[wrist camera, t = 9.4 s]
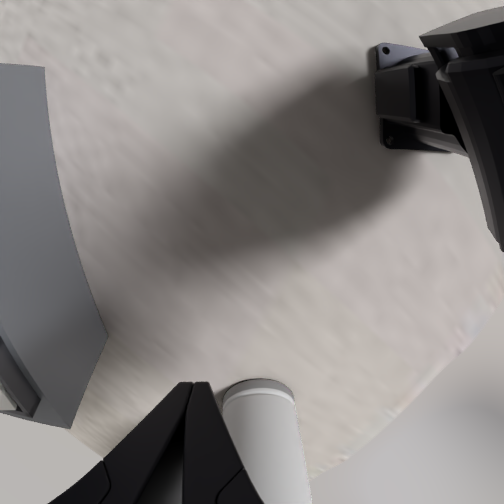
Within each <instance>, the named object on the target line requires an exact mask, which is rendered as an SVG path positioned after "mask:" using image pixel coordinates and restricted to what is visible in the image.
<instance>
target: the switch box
mask: <svg viewBox="0 0 504 504" xmlns="http://www.w3.org/2000/svg"><path fill="white" fill-rule="evenodd" d="M107 338H108V335H107V333H106V330H105V328H104V325H103V323H102V320H101V318H100V315H99V313H98V310H97V308H96V305H95V302H94V300H93V297H92V294H91V292H90V289H89V286H88V283H87V280H86V277H85V274H84V271H83V268H82V265H81V262H80V259H79V256H78V252H77V249H76V246H75V242H74V239H73V235H72V232H71V228H70V224H69V221H68V217H67V213H66V209H65V205H64V201H63V196H62V192H61V187H60V183H59V178H58V173H57V168H56V162H55V157H54V151H53V145H52V139H51V132H50V124H49V116H48V108H47V98H46V86H45V70H44V67H40V66H30V65H18V64H3V63H0V381H1V383H2V384H3V386H4V387H5V389H6V390H7V391H8V393H9V394H10V395H11V397H12V398H13V399H14V401H15V402H16V403H17V408H16V410H0V413H3V414H7V415H11V416H14V417H18V418H22V419H25V420H29V421H34V422H38V423H42V424H47V425H51V426H57V427H61V428H67V429H71V426H72V423H73V420H74V418H75V415H76V412H77V410H78V407H79V405H80V402H81V400H82V397H83V395H84V392H85V390H86V387H87V385H88V382H89V380H90V377H91V375H92V373H93V370H94V368H95V366H96V363H97V361H98V359H99V356H100V354H101V352H102V350H103V347H104V345H105V343H106V341H107Z"/></svg>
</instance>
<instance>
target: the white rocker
mask: <svg viewBox="0 0 504 504" xmlns="http://www.w3.org/2000/svg"><path fill="white" fill-rule="evenodd" d="M16 408H17V403H16V402H15V401H14V399H13V398H12V397H11V395H10V394H9V393H8V391H7V390H6V389H5V387H4V386H3V384H2V383H1V381H0V410H16Z"/></svg>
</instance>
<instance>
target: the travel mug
mask: <svg viewBox="0 0 504 504" xmlns="http://www.w3.org/2000/svg"><path fill="white" fill-rule="evenodd" d="M223 418H224V421H225V423H226V426H227V428H228V430H229V433H230V435H231V437H232V440H233V442H234V444H235V446H236V449H237V451H238V453H239V455H240V458H241V460H242V462H243V464H244V466H245V469H246V470H247V472H248V474H249V477H250V479H251V481H252V483H253V485H254V486H255V488H256V490H257V492H258V494H259V496H260V497H261V499H262V500H263V502H264V503H265V504H313V503H312V497H311V492H310V486H309V480H308V474H307V468H306V463H305V457H304V451H303V446H302V440H301V434H300V429H299V423H298V418H297V412H296V409H295V402H294V396H293V393H292V391H291V390H290V389H289V388H288V387H287V386H286V385H284V384H282V383H280V382H277V381H274V380H268V379H255V380H248V381H244V382H241V383H239V384H237V385H235V386H233V387H232V388H230V389H229V390H228V391H227V392H226V394H225V395H224V398H223Z"/></svg>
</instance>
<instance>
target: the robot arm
mask: <svg viewBox="0 0 504 504" xmlns="http://www.w3.org/2000/svg"><path fill="white" fill-rule="evenodd" d="M419 38H420V40H421V41H422V43H423V45H424V47H427V48H428V50H429V51H428V50H424V49H419V48H414V47H408V46H403V45H397V44H390V43H381V44H379V45H377V47H376V61H377V72H376V73H375V88H376V110H377V115H378V116H379V117H380V142H381V144H382V146H384V147H385V148H388V149H410V150H432V151H448V152H454V153H457V154H460V155H463V156H466V157H469V159H470V162H471V165H472V168H473V171H474V175H475V178H476V182H477V185H478V189H479V192H480V196H481V200H482V204H483V208H484V212H485V217H486V221H487V226H488V229H489V230H490V232H491V233H492V235H493V236H494V238H495V239H496V241H497V242H498V243H499V245H500V249H501V251H502V252H504V6H503V7H498V8H493V9H489V10H485V11H481V12H477V13H474V14H472V15H469V16H466V17H464V18H461V19H458V20H456V21H453V22H451V23H448V24H446V25H444V26H441V27H439V28H436V29H434V30H432V31H429V32H427V33H425V34H423V35H420V36H419ZM382 48H385V49H386V50H387V54H384V53H383V51H382ZM388 137H390V138H391V142H390V143H389V144H388V143H387V141H386V140H387V138H388ZM48 504H265V503H264V502H263V500H262V499H261V497H260V496H259V494H258V492H257V490H256V488H255V486H254V485H253V483H252V481H251V479H250V477H249V474H248V472H247V470H246V469H245V466H244V464H243V462H242V460H241V458H240V455H239V453H238V451H237V449H236V446H235V444H234V442H233V440H232V437H231V435H230V433H229V430H228V428H227V426H226V423H225V421H224V418H223V416H222V414H221V411H220V409H219V406H218V404H217V401H216V399H215V396H214V394H213V391H212V389H211V386H210V384H209V382H195V383H193V382H180V383H178V384H177V385H176V386H175V387H174V388H173V389H172V390H171V391H170V392H169V393H168V394H167V396H166V397H165V398H164V399H163V400H162V401H161V402H160V403H159V404H158V405H157V406H156V407H155V408H154V409H153V410H152V411H151V412H150V413H149V414H148V415H147V416H146V417H145V418H144V419H143V420H142V421H141V422H140V423H139V424H138V425H137V426H136V427H135V428H134V429H133V430H132V431H131V432H130V433H129V434H128V435H127V436H126V437H125V438H124V439H123V440H122V441H121V442H120V443H119V444H118V445H117V446H116V447H115V448H114V449H113V450H112V451H111V452H110V453H109V454H108V455H107V456H106V457H104V458H103V461H100V462H99V463H98V464H97V465H96V466H95V467H93V468H92V469H91V470H90V471H89V472H88V473H87V474H86V475H85V476H84V477H82V478H81V479H80V480H79V481H78V482H76V483H75V484H74V485H73V486H71V487H70V488H69V489H67V490H66V491H65V492H64V493H62V494H61V495H59V496H58V497H56V498H55V499H54V500H52V501H51V502H50V503H48Z"/></svg>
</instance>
